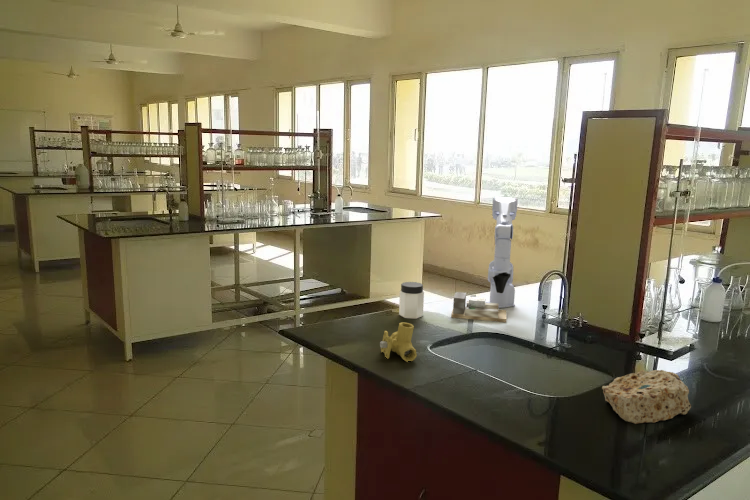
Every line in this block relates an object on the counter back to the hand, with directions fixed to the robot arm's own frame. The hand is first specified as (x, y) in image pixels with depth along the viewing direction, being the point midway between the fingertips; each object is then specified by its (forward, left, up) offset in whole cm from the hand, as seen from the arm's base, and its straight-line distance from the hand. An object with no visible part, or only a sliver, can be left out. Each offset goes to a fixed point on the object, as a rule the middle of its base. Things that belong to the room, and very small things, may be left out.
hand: (499, 292), depth 209 cm
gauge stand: (+6, -4, -9) cm, 12 cm away
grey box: (+7, -4, -8) cm, 12 cm away
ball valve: (+55, +19, -10) cm, 59 cm away
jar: (+30, -14, -10) cm, 34 cm away
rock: (+16, +75, -10) cm, 77 cm away
